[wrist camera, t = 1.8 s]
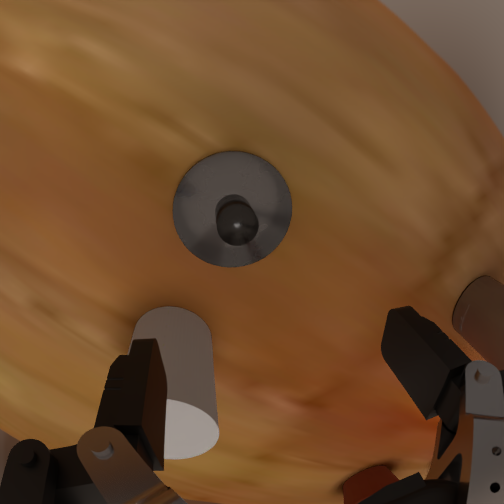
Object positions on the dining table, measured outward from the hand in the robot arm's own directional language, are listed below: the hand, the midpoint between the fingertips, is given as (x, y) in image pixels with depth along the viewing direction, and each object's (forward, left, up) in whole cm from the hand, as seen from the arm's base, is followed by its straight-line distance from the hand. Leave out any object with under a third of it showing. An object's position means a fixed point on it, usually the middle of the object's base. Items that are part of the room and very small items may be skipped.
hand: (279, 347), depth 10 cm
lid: (0, 0, -19) cm, 19 cm away
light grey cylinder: (+7, +13, -19) cm, 24 cm away
